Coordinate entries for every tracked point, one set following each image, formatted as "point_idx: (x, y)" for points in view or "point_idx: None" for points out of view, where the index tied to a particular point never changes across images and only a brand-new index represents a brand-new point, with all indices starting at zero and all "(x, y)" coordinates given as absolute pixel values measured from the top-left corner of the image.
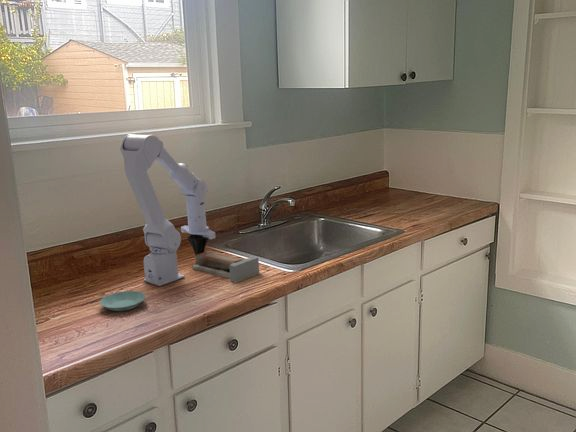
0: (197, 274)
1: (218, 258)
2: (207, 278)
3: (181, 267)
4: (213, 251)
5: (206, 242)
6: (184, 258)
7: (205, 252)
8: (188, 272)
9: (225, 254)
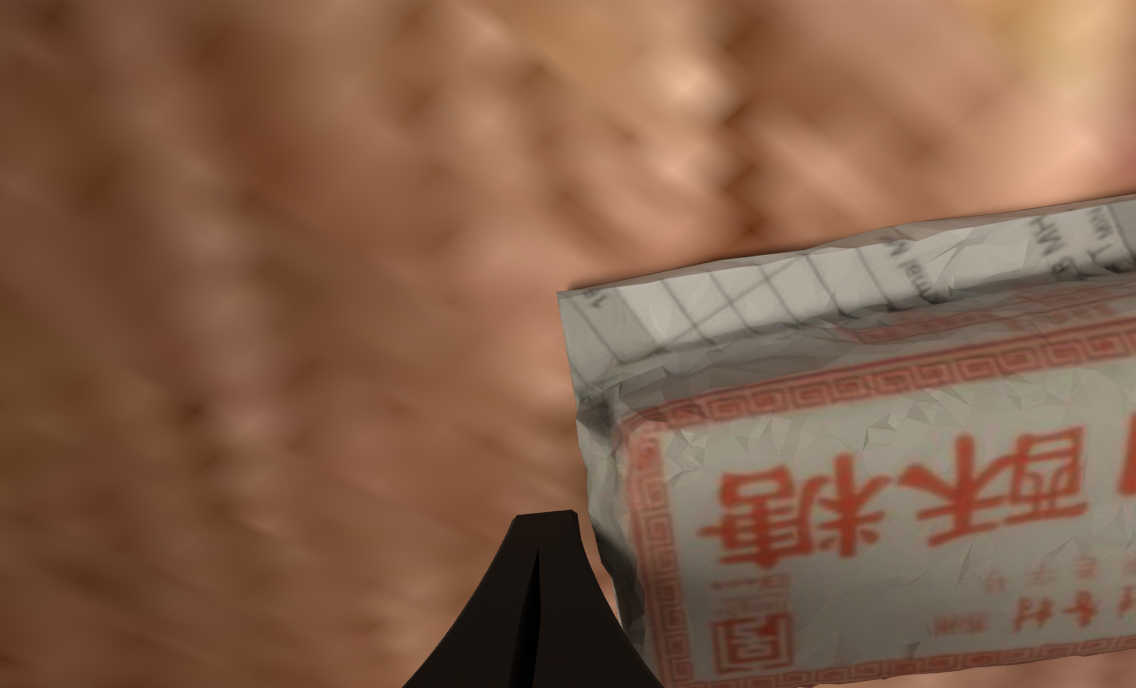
0: None
1: None
2: None
3: None
4: (697, 434)
5: (659, 685)
6: (185, 492)
7: (678, 586)
8: None
9: (1067, 404)
